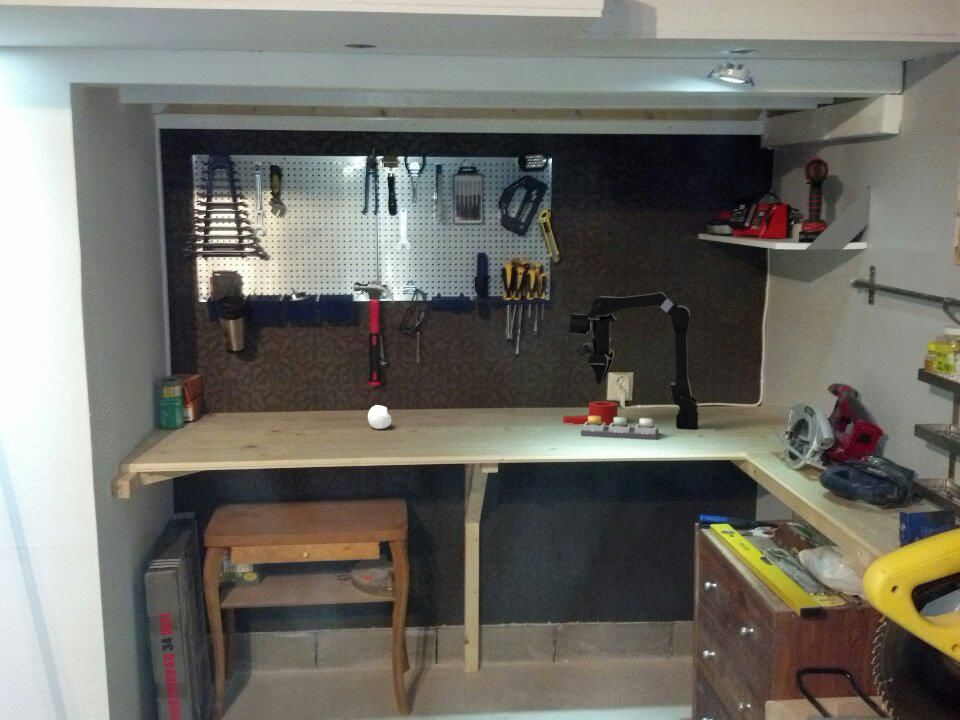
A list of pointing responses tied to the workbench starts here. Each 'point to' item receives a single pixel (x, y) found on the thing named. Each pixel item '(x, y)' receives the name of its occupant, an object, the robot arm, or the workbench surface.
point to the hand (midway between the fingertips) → (600, 382)
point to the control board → (619, 431)
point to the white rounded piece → (379, 417)
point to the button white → (646, 422)
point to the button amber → (594, 419)
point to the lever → (596, 413)
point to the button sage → (620, 421)
